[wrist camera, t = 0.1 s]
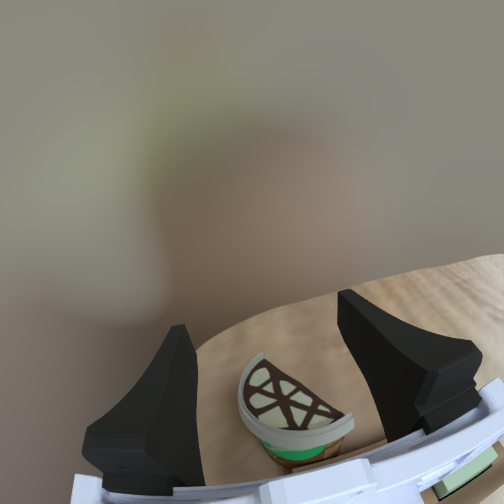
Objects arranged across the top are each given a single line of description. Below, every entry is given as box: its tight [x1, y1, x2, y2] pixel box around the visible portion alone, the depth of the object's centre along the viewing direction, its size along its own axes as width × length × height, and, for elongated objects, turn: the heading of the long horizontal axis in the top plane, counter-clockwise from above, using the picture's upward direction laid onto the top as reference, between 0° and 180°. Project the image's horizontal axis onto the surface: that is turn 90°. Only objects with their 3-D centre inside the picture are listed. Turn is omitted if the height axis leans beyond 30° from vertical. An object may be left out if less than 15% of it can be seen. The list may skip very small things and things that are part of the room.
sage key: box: [432, 446, 498, 499], centre depth 16 cm, size 6×6×2 cm
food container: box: [238, 351, 354, 469], centre depth 24 cm, size 12×6×10 cm, turn 36°
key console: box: [292, 439, 504, 504], centre depth 17 cm, size 12×20×3 cm, turn 97°
